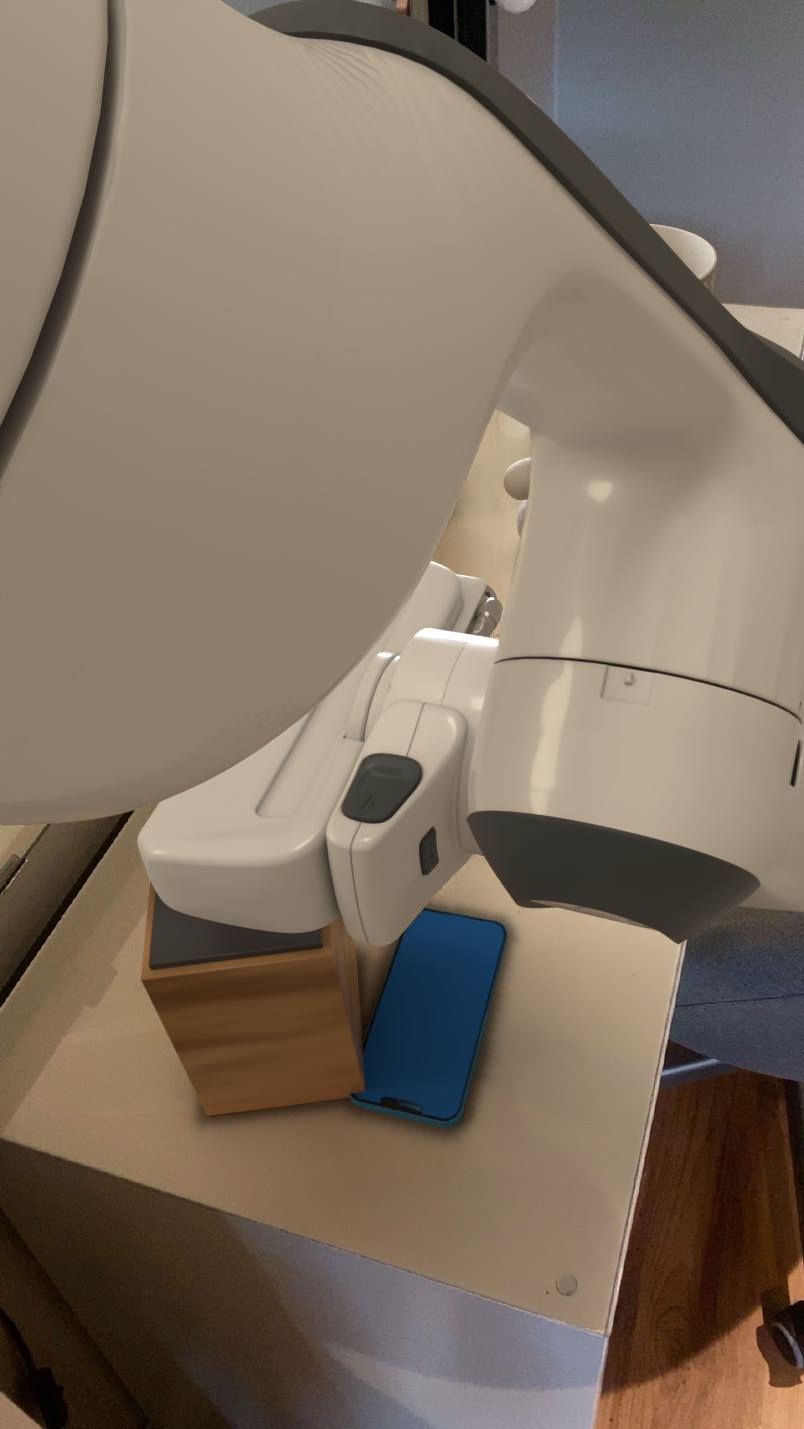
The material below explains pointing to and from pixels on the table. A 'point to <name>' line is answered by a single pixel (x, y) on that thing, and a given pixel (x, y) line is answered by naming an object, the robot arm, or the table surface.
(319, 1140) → the table surface
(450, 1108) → the smartphone
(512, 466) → the perfume bottle
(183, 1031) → the display stand
